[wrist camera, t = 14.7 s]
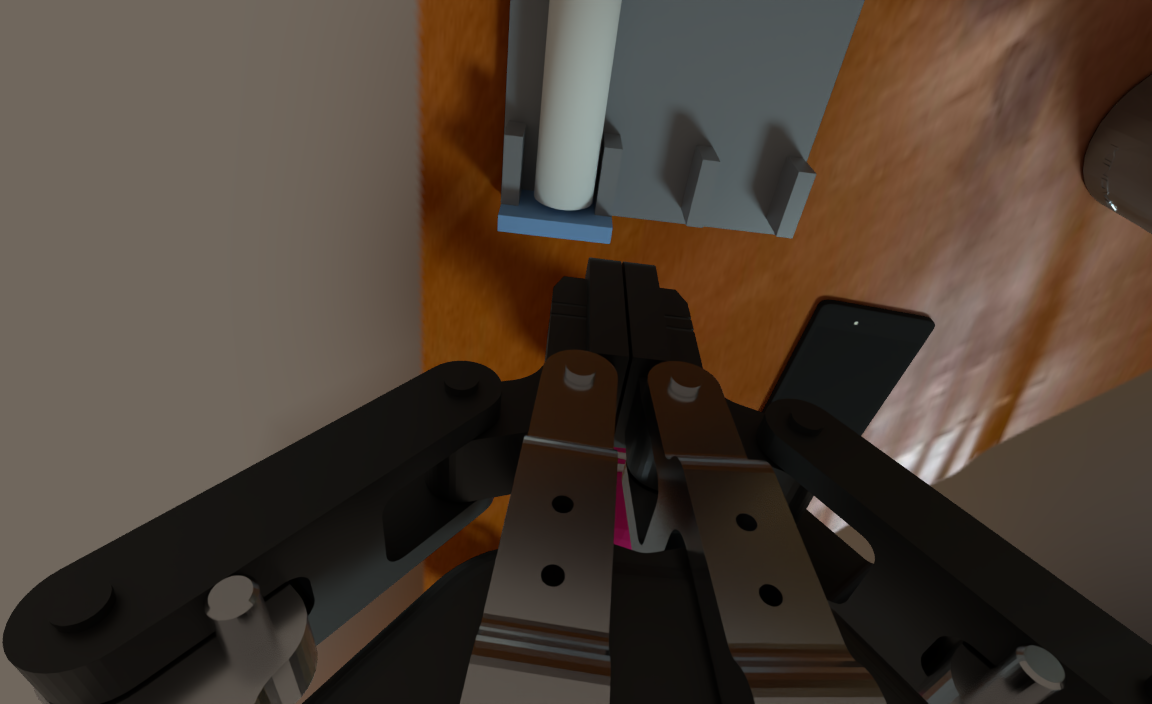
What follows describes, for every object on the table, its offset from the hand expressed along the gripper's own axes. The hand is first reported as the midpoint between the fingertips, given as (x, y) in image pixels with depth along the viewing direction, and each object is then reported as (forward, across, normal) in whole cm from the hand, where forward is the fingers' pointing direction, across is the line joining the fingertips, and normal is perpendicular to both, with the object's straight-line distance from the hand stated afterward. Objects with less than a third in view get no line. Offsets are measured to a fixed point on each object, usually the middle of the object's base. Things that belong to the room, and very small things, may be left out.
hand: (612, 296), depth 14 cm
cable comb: (+25, -4, -1) cm, 25 cm away
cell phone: (+26, -22, +22) cm, 40 cm away
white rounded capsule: (+24, +2, -1) cm, 24 cm away
